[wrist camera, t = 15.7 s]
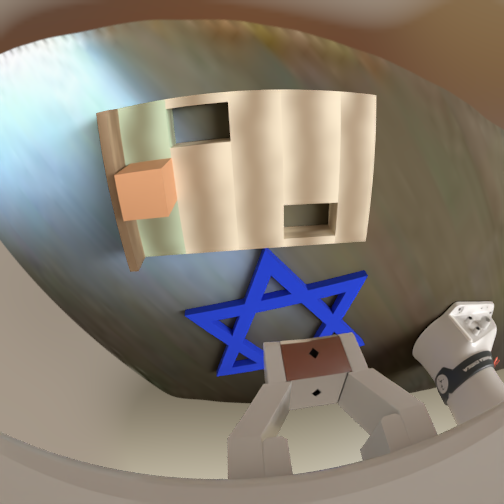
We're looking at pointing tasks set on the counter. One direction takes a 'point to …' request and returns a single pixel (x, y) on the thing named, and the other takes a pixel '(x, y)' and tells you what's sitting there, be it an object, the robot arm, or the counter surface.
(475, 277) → the counter surface
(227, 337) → the symbol
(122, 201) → the block
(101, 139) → the board
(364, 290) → the counter surface
